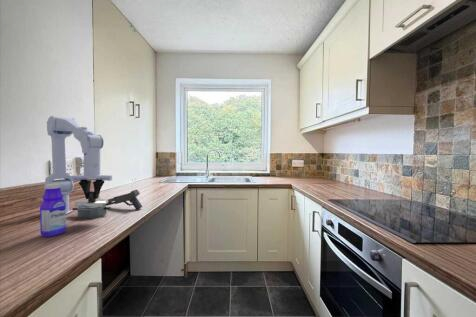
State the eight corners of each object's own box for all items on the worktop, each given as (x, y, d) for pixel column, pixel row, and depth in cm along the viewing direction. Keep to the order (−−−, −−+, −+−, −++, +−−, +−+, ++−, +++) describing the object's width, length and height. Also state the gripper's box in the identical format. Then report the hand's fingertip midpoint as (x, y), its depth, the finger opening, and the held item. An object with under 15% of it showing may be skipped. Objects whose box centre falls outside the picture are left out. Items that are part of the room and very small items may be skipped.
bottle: (50, 238, 80) (49, 185, 79) (36, 237, 81) (35, 185, 81) (69, 231, 87) (69, 183, 87) (56, 230, 88) (56, 182, 88)
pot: (66, 219, 102) (66, 209, 102) (79, 213, 113) (79, 204, 113) (105, 218, 105) (105, 209, 105) (114, 212, 115) (114, 203, 115)
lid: (68, 209, 91) (68, 193, 91) (83, 204, 102) (83, 189, 102) (101, 209, 93) (101, 193, 93) (112, 203, 104) (112, 189, 104)
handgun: (139, 209, 120) (134, 190, 120) (98, 219, 124) (93, 200, 124) (144, 207, 123) (139, 188, 124) (104, 217, 128) (99, 199, 128)
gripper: (66, 165, 92) (66, 200, 93) (107, 165, 94) (107, 200, 95) (76, 164, 99) (76, 197, 100) (114, 164, 101) (113, 196, 102)
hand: (92, 198), depth 98 cm, fingers closed on lid, 3 cm apart
